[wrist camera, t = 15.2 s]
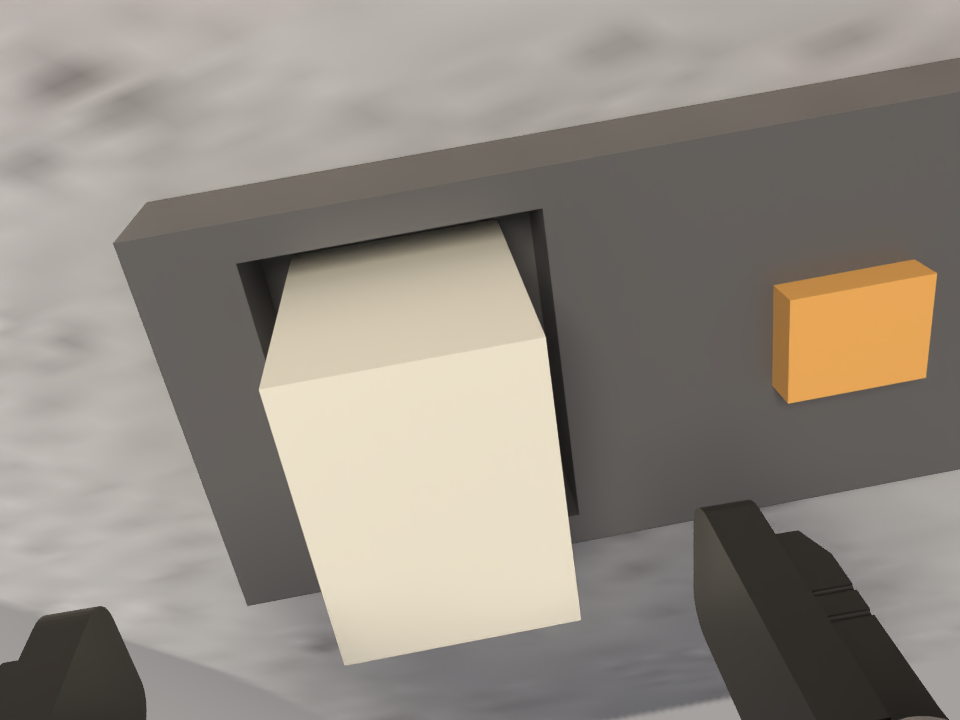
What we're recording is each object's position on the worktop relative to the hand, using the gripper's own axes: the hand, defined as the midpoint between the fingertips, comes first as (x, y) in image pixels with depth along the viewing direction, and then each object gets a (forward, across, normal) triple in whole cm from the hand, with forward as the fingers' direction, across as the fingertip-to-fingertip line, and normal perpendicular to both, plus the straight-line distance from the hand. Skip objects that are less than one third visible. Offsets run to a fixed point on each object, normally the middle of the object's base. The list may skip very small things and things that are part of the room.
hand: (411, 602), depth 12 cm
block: (+9, 0, +1) cm, 9 cm away
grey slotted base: (+9, -4, +1) cm, 10 cm away
